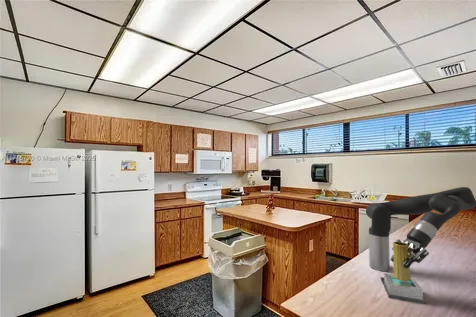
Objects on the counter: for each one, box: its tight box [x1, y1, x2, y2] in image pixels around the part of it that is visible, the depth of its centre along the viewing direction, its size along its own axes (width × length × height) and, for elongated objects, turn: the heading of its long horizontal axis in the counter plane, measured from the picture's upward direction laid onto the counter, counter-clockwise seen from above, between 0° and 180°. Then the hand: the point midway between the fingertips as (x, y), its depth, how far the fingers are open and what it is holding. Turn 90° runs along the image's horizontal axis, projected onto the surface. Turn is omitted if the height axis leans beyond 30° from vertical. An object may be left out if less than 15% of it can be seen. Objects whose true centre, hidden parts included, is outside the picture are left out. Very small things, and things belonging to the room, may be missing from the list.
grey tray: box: [380, 273, 426, 305], centre depth 101 cm, size 17×12×5 cm
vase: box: [392, 241, 412, 281], centre depth 99 cm, size 6×6×14 cm
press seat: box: [390, 278, 414, 287], centre depth 99 cm, size 7×7×1 cm
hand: (398, 263), depth 99 cm, fingers closed on vase, 5 cm apart
